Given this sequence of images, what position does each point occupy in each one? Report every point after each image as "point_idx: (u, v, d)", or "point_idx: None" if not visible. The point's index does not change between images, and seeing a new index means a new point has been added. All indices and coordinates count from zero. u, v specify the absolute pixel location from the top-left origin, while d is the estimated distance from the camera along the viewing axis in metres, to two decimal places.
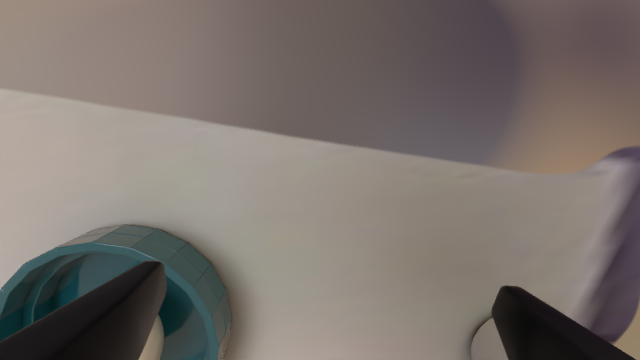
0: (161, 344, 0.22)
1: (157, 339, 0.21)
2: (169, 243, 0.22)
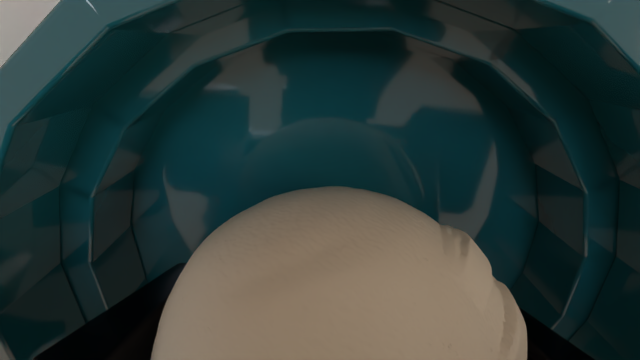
0: None
1: None
2: None
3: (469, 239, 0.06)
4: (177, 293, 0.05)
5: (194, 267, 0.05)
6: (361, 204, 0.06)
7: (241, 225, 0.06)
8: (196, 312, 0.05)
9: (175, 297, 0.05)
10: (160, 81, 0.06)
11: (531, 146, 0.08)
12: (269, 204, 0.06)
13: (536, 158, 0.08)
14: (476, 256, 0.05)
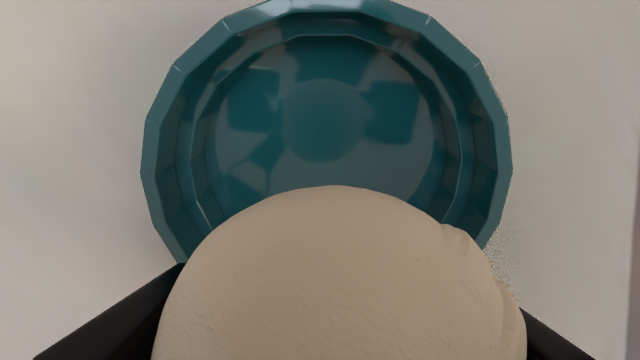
0: None
1: None
2: None
3: (469, 238, 0.06)
4: (177, 292, 0.05)
5: (194, 266, 0.05)
6: (361, 203, 0.06)
7: (241, 224, 0.06)
8: (197, 311, 0.05)
9: (175, 296, 0.05)
10: (237, 60, 0.13)
11: (434, 99, 0.15)
12: (269, 203, 0.06)
13: (438, 107, 0.15)
14: (476, 255, 0.05)
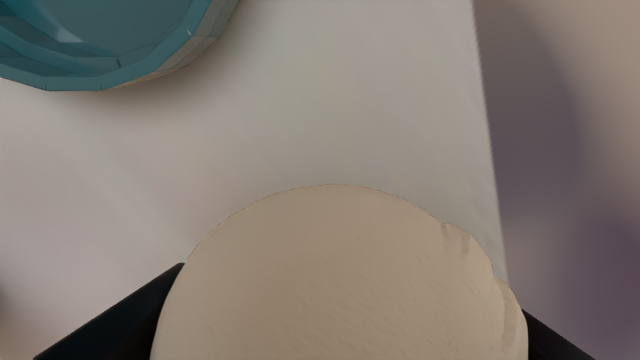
0: None
1: None
2: None
3: (470, 237, 0.06)
4: (176, 291, 0.05)
5: (193, 265, 0.05)
6: (361, 202, 0.06)
7: (241, 223, 0.06)
8: (197, 309, 0.05)
9: (174, 295, 0.05)
10: None
11: None
12: (269, 202, 0.06)
13: None
14: (477, 254, 0.05)
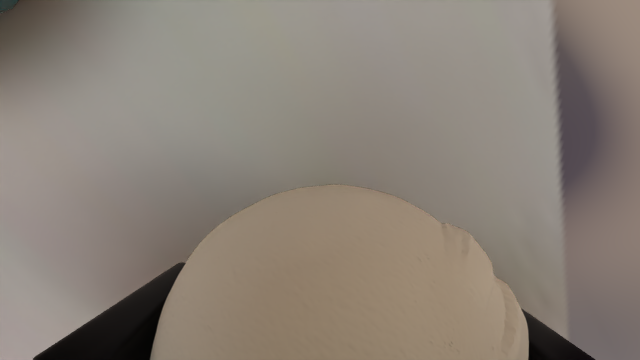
0: None
1: None
2: None
3: (470, 237, 0.06)
4: (177, 291, 0.05)
5: (193, 266, 0.05)
6: (362, 202, 0.06)
7: (241, 223, 0.06)
8: (196, 311, 0.05)
9: (175, 295, 0.05)
10: None
11: None
12: (269, 202, 0.06)
13: None
14: (477, 254, 0.05)
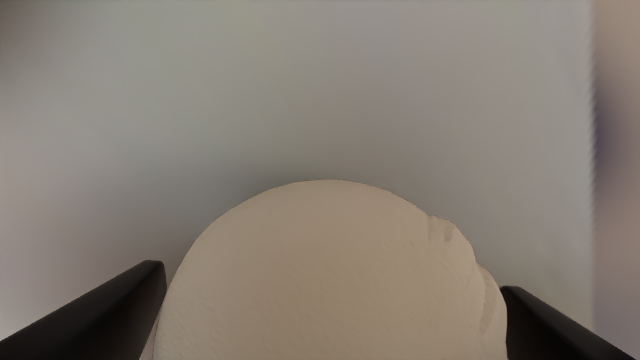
0: None
1: None
2: None
3: (454, 227, 0.06)
4: (180, 277, 0.06)
5: (195, 253, 0.06)
6: (352, 194, 0.06)
7: (240, 214, 0.06)
8: (198, 293, 0.05)
9: (178, 281, 0.06)
10: None
11: None
12: (266, 195, 0.06)
13: None
14: (459, 242, 0.06)
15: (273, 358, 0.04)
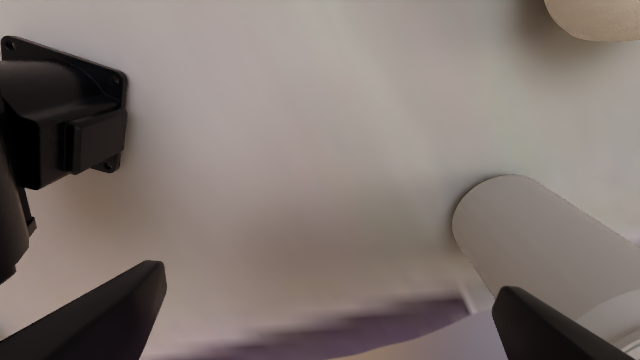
0: None
1: None
2: None
3: None
4: None
5: None
6: None
7: None
8: None
9: None
10: None
11: None
12: None
13: None
14: None
15: None
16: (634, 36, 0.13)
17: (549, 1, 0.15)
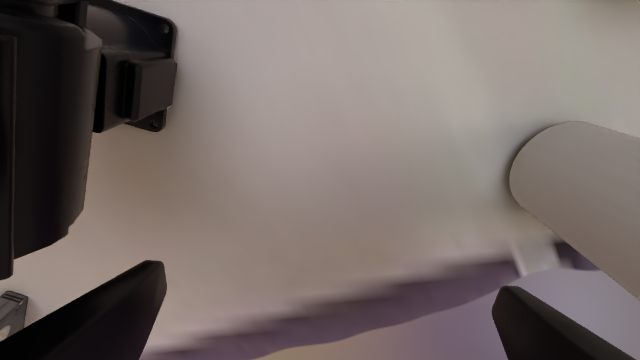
0: None
1: None
2: None
3: None
4: None
5: None
6: None
7: None
8: None
9: None
10: None
11: None
12: None
13: None
14: None
15: None
16: None
17: None
